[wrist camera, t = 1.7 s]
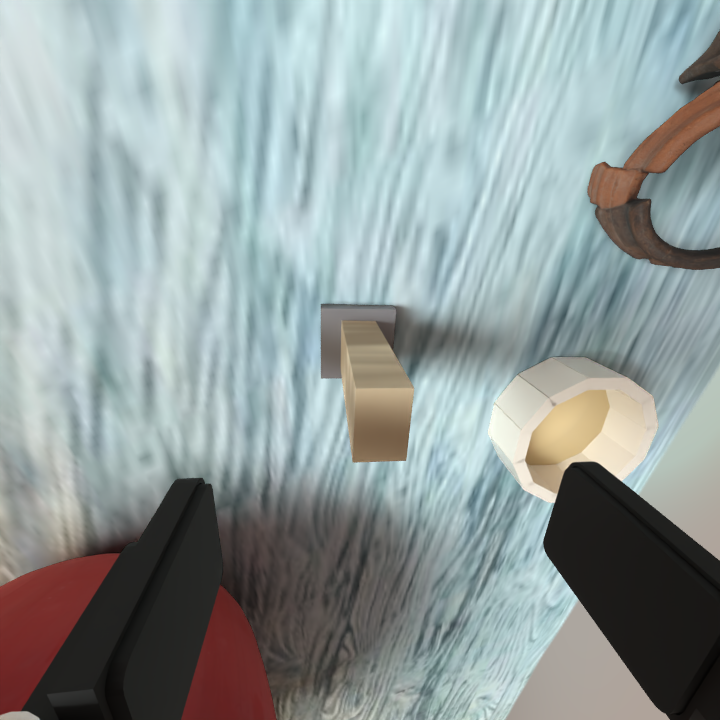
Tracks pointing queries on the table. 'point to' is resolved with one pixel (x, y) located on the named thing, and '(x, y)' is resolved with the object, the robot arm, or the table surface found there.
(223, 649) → the mixing bowl
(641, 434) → the cream faceted bowl
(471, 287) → the table surface
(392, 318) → the wall mounted peg
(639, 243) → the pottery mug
